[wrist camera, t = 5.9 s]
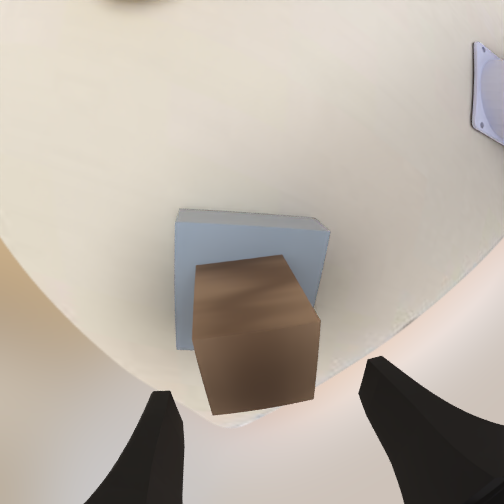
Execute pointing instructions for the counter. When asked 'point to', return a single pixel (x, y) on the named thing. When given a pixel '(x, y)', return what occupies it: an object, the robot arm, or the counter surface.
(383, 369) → the robot arm
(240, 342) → the walnut block
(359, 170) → the counter surface
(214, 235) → the blue-gray block
